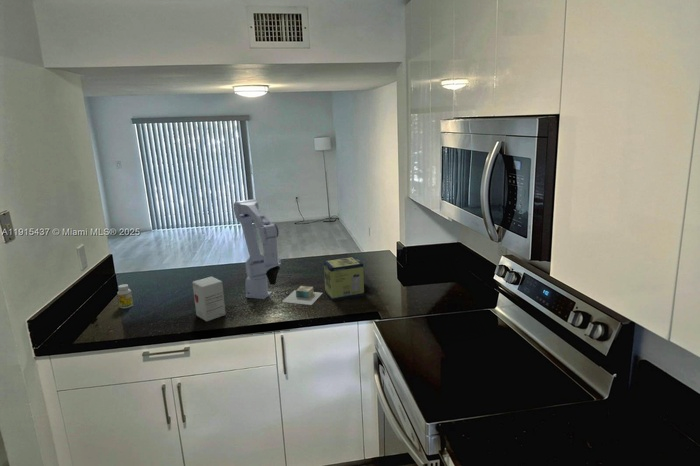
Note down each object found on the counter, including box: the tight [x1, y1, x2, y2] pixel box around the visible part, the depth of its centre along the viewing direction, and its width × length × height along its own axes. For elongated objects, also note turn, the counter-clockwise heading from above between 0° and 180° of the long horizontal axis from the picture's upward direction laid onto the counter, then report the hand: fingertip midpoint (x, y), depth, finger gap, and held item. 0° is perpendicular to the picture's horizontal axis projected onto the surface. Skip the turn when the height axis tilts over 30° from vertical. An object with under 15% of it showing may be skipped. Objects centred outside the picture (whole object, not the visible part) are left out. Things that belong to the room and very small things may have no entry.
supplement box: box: [192, 276, 226, 322], centre depth 186 cm, size 9×9×15 cm
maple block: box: [295, 285, 315, 298], centre depth 205 cm, size 6×3×6 cm
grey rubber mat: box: [281, 289, 323, 306], centre depth 203 cm, size 14×14×1 cm
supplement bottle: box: [116, 283, 134, 309], centre depth 198 cm, size 5×5×10 cm
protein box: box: [323, 256, 365, 301], centre depth 203 cm, size 10×16×16 cm
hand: (272, 283), depth 191 cm, fingers closed
